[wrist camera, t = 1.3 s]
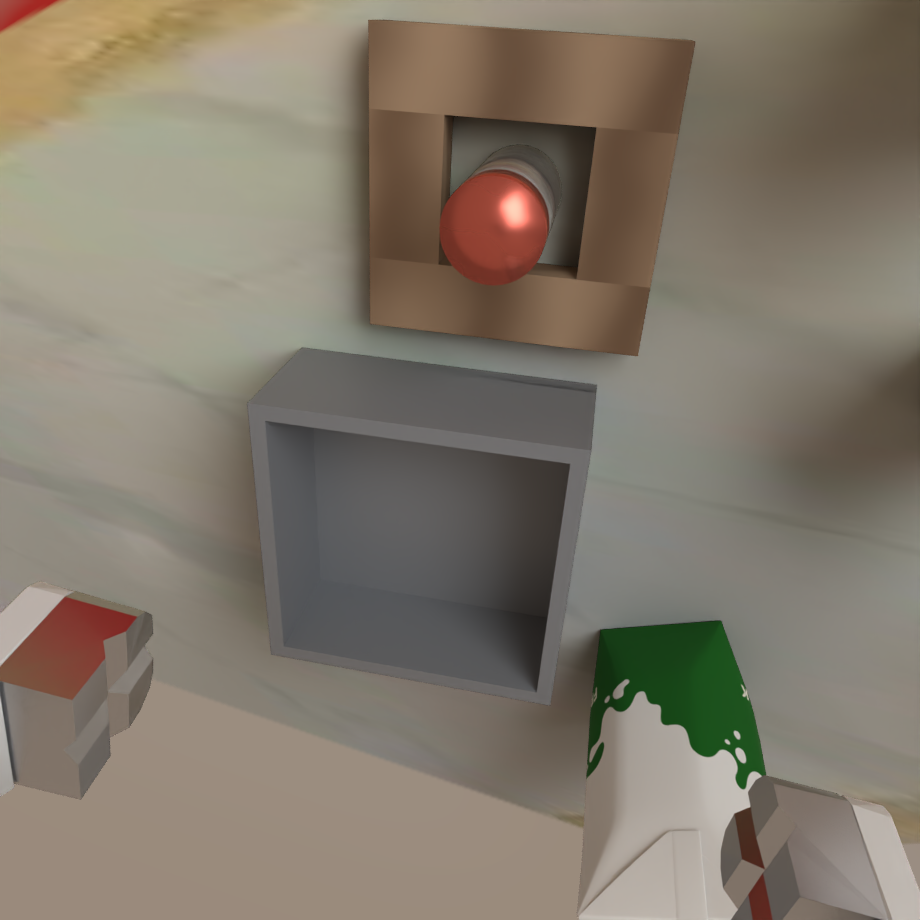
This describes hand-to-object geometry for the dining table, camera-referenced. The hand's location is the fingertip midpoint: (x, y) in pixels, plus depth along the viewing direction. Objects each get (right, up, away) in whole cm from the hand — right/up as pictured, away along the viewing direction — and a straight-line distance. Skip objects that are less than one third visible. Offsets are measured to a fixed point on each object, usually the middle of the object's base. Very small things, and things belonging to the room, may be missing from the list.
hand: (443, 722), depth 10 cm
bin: (-1, +2, +34) cm, 34 cm away
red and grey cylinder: (+3, +16, +25) cm, 30 cm away
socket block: (+3, +16, +25) cm, 30 cm away
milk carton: (+13, -9, +38) cm, 41 cm away
